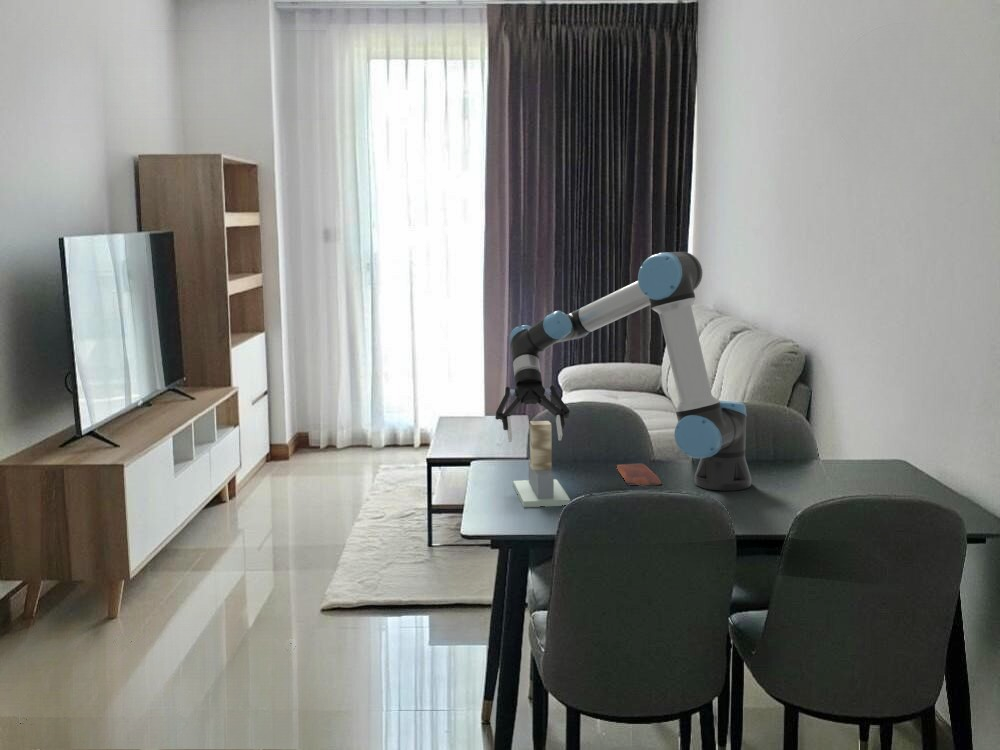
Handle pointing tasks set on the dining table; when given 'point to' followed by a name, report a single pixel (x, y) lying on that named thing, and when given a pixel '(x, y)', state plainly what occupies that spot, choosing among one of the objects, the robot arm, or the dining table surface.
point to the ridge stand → (540, 490)
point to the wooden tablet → (638, 474)
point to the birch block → (540, 445)
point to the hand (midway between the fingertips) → (535, 438)
